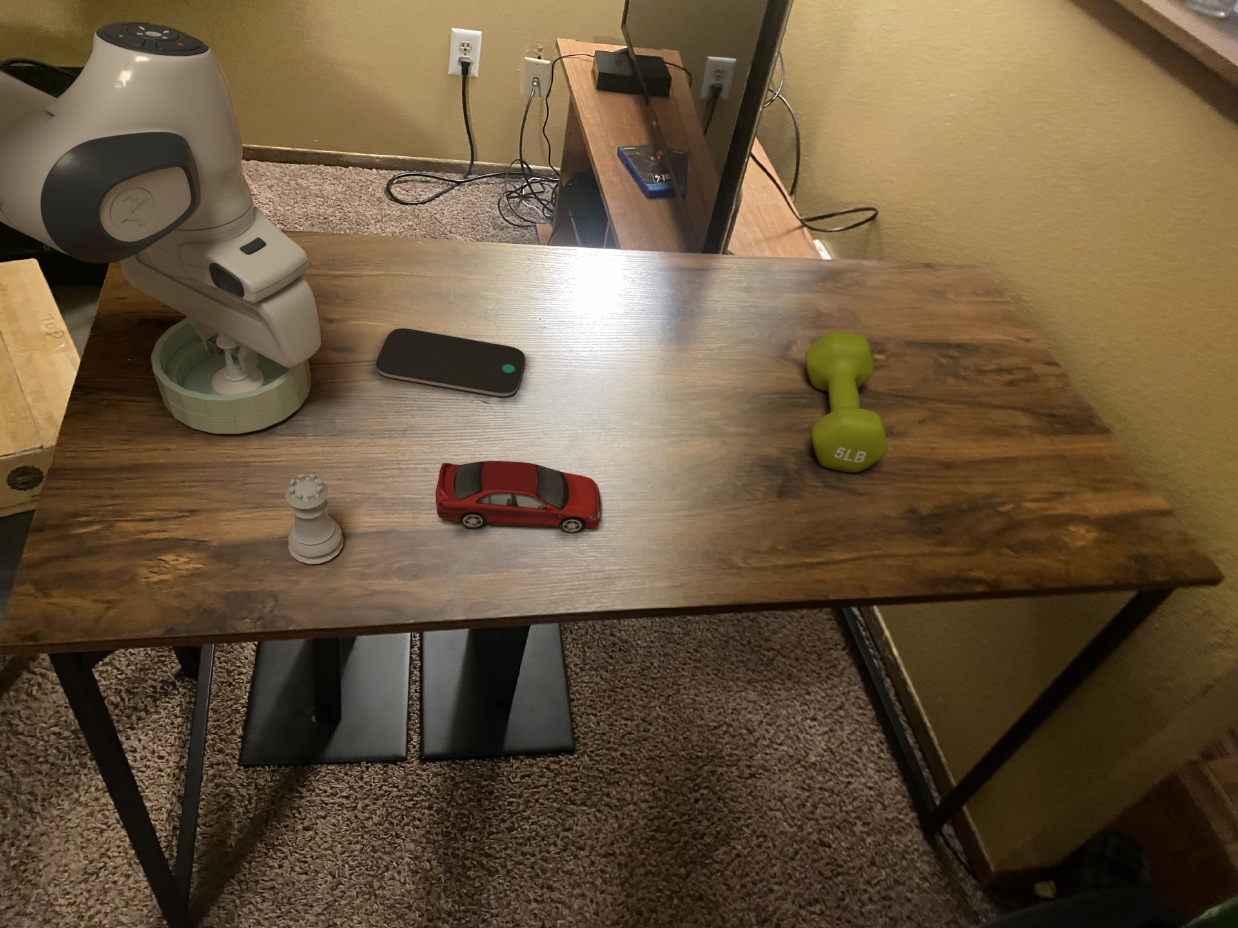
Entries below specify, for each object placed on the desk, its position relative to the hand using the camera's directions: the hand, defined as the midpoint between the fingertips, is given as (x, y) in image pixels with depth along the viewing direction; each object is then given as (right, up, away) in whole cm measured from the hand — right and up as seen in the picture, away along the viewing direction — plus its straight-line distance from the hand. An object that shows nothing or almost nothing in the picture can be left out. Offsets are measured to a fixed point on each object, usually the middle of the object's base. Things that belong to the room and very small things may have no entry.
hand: (232, 358), depth 80 cm
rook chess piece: (+11, -17, -8) cm, 22 cm away
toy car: (+28, -15, -2) cm, 31 cm away
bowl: (-1, -3, +3) cm, 4 cm away
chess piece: (-1, -2, +3) cm, 4 cm away
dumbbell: (+61, -6, +13) cm, 62 cm away
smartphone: (+19, 0, +10) cm, 21 cm away
